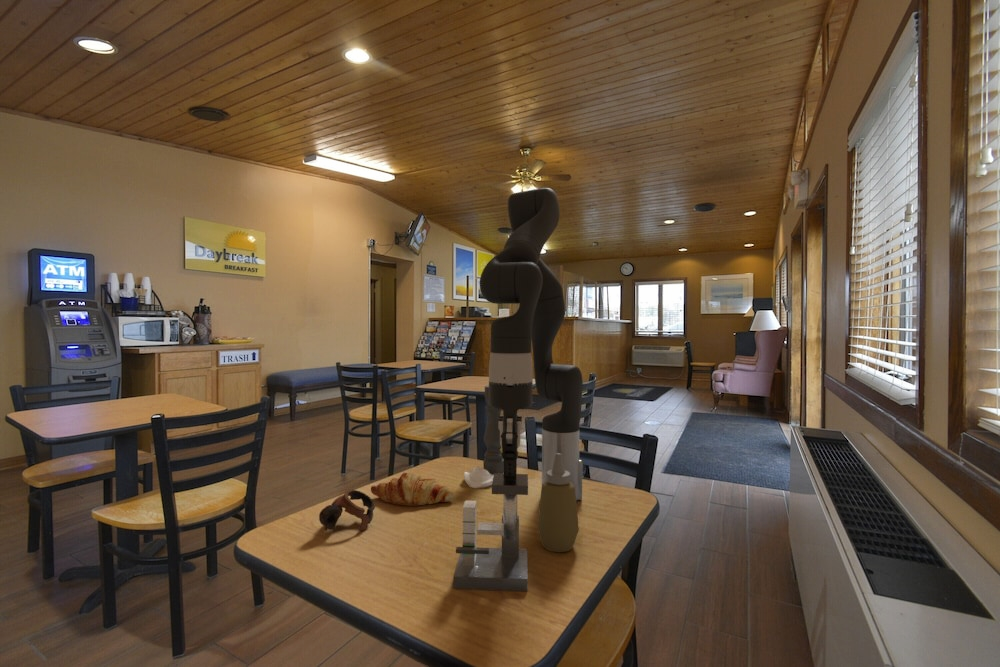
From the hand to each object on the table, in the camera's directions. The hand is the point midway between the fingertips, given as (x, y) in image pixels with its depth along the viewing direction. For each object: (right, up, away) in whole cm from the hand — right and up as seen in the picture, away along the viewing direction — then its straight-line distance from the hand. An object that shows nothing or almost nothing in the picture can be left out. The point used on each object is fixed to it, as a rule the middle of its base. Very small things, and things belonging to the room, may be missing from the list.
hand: (510, 479), depth 79 cm
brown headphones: (-35, -16, +18) cm, 42 cm away
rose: (-7, -16, +47) cm, 50 cm away
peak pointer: (-6, -12, -2) cm, 13 cm away
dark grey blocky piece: (-1, -10, 0) cm, 10 cm away
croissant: (-23, -16, +33) cm, 44 cm away
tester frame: (-3, -16, 0) cm, 17 cm away
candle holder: (-4, -16, +57) cm, 59 cm away
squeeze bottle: (+10, -17, +11) cm, 22 cm away
